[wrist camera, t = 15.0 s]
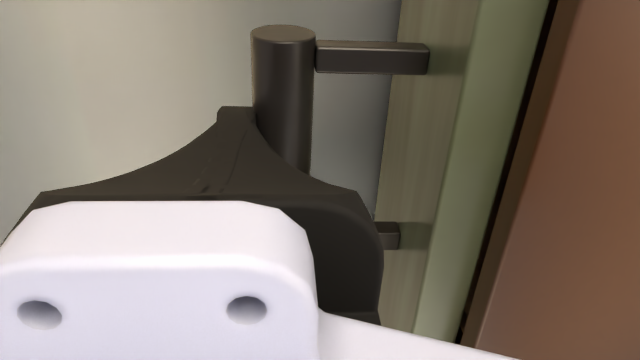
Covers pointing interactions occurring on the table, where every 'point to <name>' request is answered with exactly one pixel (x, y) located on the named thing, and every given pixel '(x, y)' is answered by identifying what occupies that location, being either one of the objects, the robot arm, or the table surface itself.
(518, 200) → the cabinet
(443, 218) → the drawer
